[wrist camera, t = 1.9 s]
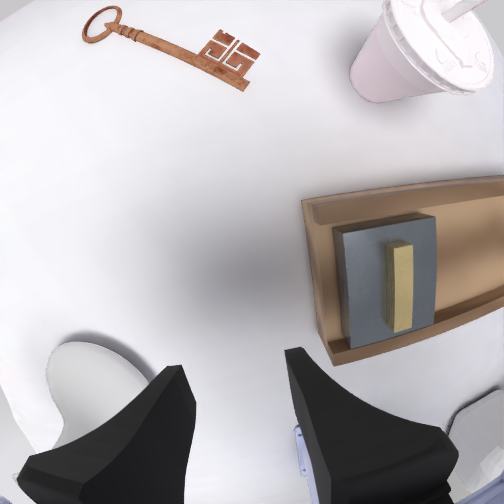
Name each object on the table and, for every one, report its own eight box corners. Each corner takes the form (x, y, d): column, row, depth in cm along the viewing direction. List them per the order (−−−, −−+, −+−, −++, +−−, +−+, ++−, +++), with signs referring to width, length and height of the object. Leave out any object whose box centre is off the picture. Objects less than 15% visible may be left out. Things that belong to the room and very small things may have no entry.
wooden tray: (501, 277, 21) (530, 292, 17) (318, 333, 22) (333, 366, 17) (502, 175, 19) (536, 178, 14) (301, 200, 19) (317, 206, 15)
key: (275, 51, 17) (120, -10, 15) (277, 46, 16) (117, -15, 14) (229, 111, 18) (76, 40, 16) (229, 107, 17) (71, 35, 15)
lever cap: (419, 311, 18) (441, 330, 15) (341, 333, 18) (356, 357, 15) (418, 212, 16) (445, 219, 13) (332, 227, 17) (349, 237, 14)
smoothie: (391, 40, 16) (504, -45, 3) (421, 114, 18) (570, 80, 4) (317, 47, 17) (403, -84, 3) (350, 128, 18) (503, 71, 4)
